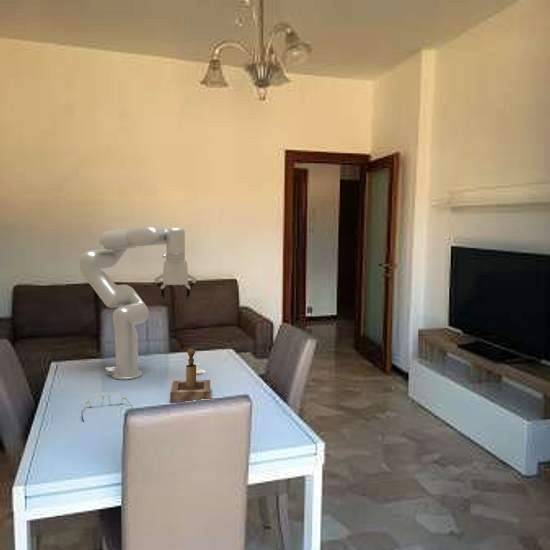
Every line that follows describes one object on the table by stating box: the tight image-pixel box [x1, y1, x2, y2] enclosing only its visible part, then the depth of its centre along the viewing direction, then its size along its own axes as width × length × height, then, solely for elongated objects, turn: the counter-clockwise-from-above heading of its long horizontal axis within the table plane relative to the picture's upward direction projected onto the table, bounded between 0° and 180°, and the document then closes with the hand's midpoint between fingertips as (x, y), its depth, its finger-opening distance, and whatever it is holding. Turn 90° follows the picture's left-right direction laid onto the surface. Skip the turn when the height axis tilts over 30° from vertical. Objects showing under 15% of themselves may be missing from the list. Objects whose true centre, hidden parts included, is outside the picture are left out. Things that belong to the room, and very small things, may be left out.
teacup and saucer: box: [193, 362, 206, 375], centre depth 237 cm, size 9×8×4 cm
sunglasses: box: [81, 392, 134, 423], centre depth 184 cm, size 17×15×5 cm
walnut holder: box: [169, 379, 211, 404], centre depth 203 cm, size 15×15×4 cm
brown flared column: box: [183, 347, 200, 390], centre depth 202 cm, size 7×6×18 cm
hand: (175, 298), depth 216 cm, fingers open, 9 cm apart
